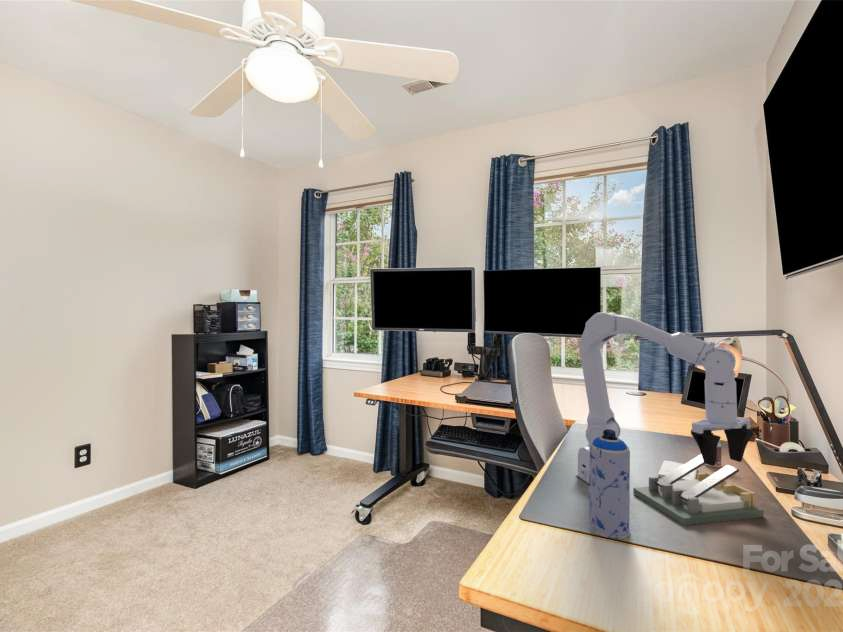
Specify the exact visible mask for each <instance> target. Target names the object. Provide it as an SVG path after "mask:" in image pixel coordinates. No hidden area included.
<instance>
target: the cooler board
mask: <svg viewBox="0 0 843 632" xmlns="http://www.w3.org/2000/svg"><path fill="white" fill-rule="evenodd" d="M712 474H713V473H711V472H708V471H706V472H697V474H696V479H693V480H682V481H677V482H675V483H673V484H672V485H671V484H662V487H660V486H658V485H657V484H656V481H658V480H660V478H659V477H658V476H649V477H648V486H640V487H639V486H638V487H633V491H632V492H633V493H632V494H633V495H634V494H635V495H634V496H636V497H637V496H638V497H637V498H639V497H640V498H641V500H642V499H643V500H642V501H644V502H645V501H646V503H647V502H648V503H649V505H650V504H651V505H650V506H651V507H654V508H655V509H656V508H657V509H656V510H658V511H660V512H661V513H663V514H664V513H665V515H666V516H668V517H669V516H670V518H671V519H672V518H673V520H674V521H675V522H677V523H679V524H680V525H682V526H684V527H685V526H686V525H687V526H694V525H693V524H696V525H701V524H700V523H705V524H711V523H710V522H713V523H721V522H720V521H722V522H730V521H731V522H732V521H737V520H748V519H755V518H764V515H765V514H764V513H765V512H764V509H763V508H761V507H758V506H757V505H756V502H757V501H756V500H757V497H756V496H757V493H756V492H754V491H752V490H750V489H747V488H745V487H742V486H740V485H737V484H735V483H731V484H727V479H726V480H725V481H723V482H722V483H720V484H719V485H717V486H715V487H714V488H712V489H711V490H709V491H708V492H706V493H704V494H703V495H701V496H700V497H698V498H696V497H692V498H688V501H686V500H684V499H682V498H680V496H679V495H680V494H682V493H683V492H685V491H686V490H688V489H689V488H691V487H693V486H694V485H696V484H697V483H699V482H701V481H702V480H704V479H705V478H707V477H709V476H710V475H712ZM640 498H639V499H640ZM648 503H647V504H648Z"/></svg>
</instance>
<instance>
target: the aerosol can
mask: <svg viewBox="0 0 843 632" xmlns="http://www.w3.org/2000/svg"><path fill="white" fill-rule="evenodd" d="M630 468H631V451H630V448H629V446H628V445H627V444H626V443H625V442H624V441H623V440H622V439H620V438H619V437H616V433H615V431H613V430H610V429H606V430H604V431H603V435H601V436H600V437H597V438H595V439H594V441H592V442H591V444H590V463H589V484H588V485H589V487H588V490H589V492H588V495H589V496H588V499H589V500H588V521H587V525H588V528H589V529H590V530H591V531H592V533H595V534H596V535H598V536H601V537H603V538H608V539H614V540H623V539H626V538H628V537H629V536H631V528H630V497H631V496H630V493H631V492H630V490H631V489H630V488H631V487H630V486H631V484H630V483H631V479H630V478H631V476H630V475H631V473H630V472H631V469H630Z"/></svg>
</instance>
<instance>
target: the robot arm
mask: <svg viewBox="0 0 843 632" xmlns="http://www.w3.org/2000/svg"><path fill="white" fill-rule="evenodd" d="M584 326H585V327H584V330H583V333H582V334H581V338H580V340H579V341H578V348H579V354H580V361H581V366H582V374H583V380H584V385H585V392H586V398H587V405H588V410H589V411H588V415H587V417H586V423H587V426H586V430H585V439H586V441H587V443H588V444H587V445H585V446H582V447H579V449H578V452H577V472H576V473H575V475H576V476H577V477H578V478H580V479H581V480H582V481H584V482H585V483H587V484H588V485H589V463H590V444H591V442H592V441H594V439H595V438H597V437H600V436H601V435H603V431H604V430H606V429H610V430H613V431H615V433H616V437H618V438H619V436H620V435H621V426H620V424H619V423H618V421H617V420H616V417H615V414H614V411H613V410H612V409H611V406H610V399H609V393H608V388H607V381H606V375H605V370H604V364H603V357H602V351H601V349H602V347H604V346H605V345H606V343H607V342H608V341H609V340H610V339H612V338H614V337H615V336H617V335H624V334H631V335H632V334H633V335H635V336H638V337H641V338H643V339H646V340H648V341H650V342H653V343H656V344H659V345H662V346H665V348H666V350H667V353H668V354H670V355H672V356H674V357H676V358H678V359H681V360H684V361H686V362H687V363H691V364H694V365H695V366H702V368H703V369H704V371H705V372H704V373H705V379H704V404H705V418H704V419H701V420H699V421H695V422H691V429H690V435H691V436H692V437H693V439H694V441H695V442H696V444H697V446H698V448H699V452H700V454H702V457H703V460H704V463H706V464H709V465H711V466H715V463H716V450H717V445H718V442H719V440H720V441H721V436H720V435H717V436H716V434H714V432H715V431H724V434H725V436H726V440H727V447H728V454H729V458H730V460H732V461H736V462H738V463H742V460H743V457H744V454H745V451H746V448H747V446H748V443H749V442H750V440H751V438H752V437H753V436H754V430H752V429H751V427H752V425H751V419H750V418H745V417H742V416H741V417H738V401H737V399H738V398H737V381H736V380H735V379H736V372H735V370H734V369H735V367H736V363H737V359H736V356H735V353H733V352H732V351H731V350H730V349H729V348H726V347H725V346H722V345H720V346H716V343H715V342H713V341H710V342H709V341H705V340H702V339H699V338H697V337H695V336H693V333H692V332H689V331H686V332H682V331H678V332H676V333H673V334H672V333H669V332H667V331H664V330H662V329H660V328H657V327H655V326H653V325H650V324H649V323H646V322H643V321H642V320H639V319H636V318H634V317H631V316H627V315H624V314H623V315H622V314H618V313H616V312H614V311H613V312H604V311H603V312H596V313H594V314H593V315H592V316H591V317H590V318H589V319H588V320H587V321H586V322H585V325H584ZM719 443H720V442H719Z"/></svg>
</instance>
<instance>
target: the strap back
mask: <svg viewBox="0 0 843 632" xmlns="http://www.w3.org/2000/svg"><path fill="white" fill-rule="evenodd" d="M683 464H684V465H682V466H681V467H679V468H677V469H676V470H674V471H673V472H671V473H669V474H668V475H666V476H664V477H663V478H659V480H658V481H656V484H657V485H658V486H660V487H662V484H671V485H672V484H673V483H675V482H677V481H678V480H680V479H681V478H683V477H685V476H686V475H688V474H689V473H691V472H693V471H694V470H696V469H697V470H698V469H699V468H701V467H702V466H705V465H704V464H706V463H704V460H703V457H702V454H701V453H700V454H699V455H697V456H695V457H694V458H692V459H690V460H689V461H687V462H686V463H683Z"/></svg>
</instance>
